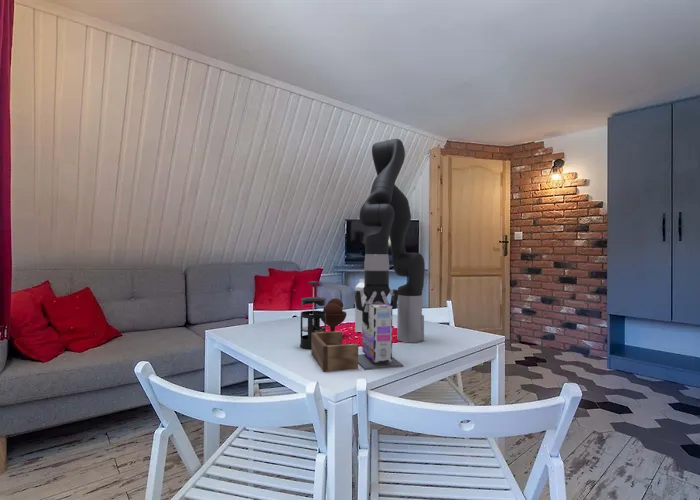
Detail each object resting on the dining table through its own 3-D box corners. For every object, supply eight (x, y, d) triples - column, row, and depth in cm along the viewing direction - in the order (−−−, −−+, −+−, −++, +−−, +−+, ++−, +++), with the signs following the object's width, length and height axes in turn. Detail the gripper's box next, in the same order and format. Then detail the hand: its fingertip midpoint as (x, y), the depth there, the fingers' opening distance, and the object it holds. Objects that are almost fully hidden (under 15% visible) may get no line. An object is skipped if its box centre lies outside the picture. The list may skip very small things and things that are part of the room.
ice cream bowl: (321, 333, 162) (321, 296, 162) (348, 334, 160) (348, 297, 160) (315, 339, 151) (315, 299, 151) (344, 340, 150) (344, 300, 150)
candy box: (392, 362, 115) (393, 305, 115) (373, 363, 114) (373, 306, 114) (378, 350, 129) (379, 299, 129) (361, 351, 127) (361, 300, 127)
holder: (341, 351, 133) (341, 331, 132) (358, 368, 114) (358, 344, 114) (311, 353, 130) (311, 332, 130) (323, 371, 111) (323, 346, 111)
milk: (363, 330, 169) (363, 278, 169) (375, 331, 165) (375, 279, 165) (354, 332, 164) (355, 279, 164) (366, 334, 160) (367, 279, 160)
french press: (322, 350, 134) (323, 283, 134) (296, 349, 135) (296, 282, 135) (329, 342, 145) (330, 280, 145) (305, 341, 147) (305, 279, 147)
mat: (386, 354, 130) (386, 352, 130) (403, 366, 116) (403, 364, 116) (351, 356, 126) (351, 355, 126) (364, 369, 113) (364, 367, 113)
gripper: (393, 268, 127) (393, 320, 127) (350, 268, 123) (350, 322, 123) (403, 269, 120) (402, 324, 120) (357, 269, 116) (357, 327, 116)
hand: (376, 323), depth 121 cm, fingers closed on candy box, 6 cm apart
